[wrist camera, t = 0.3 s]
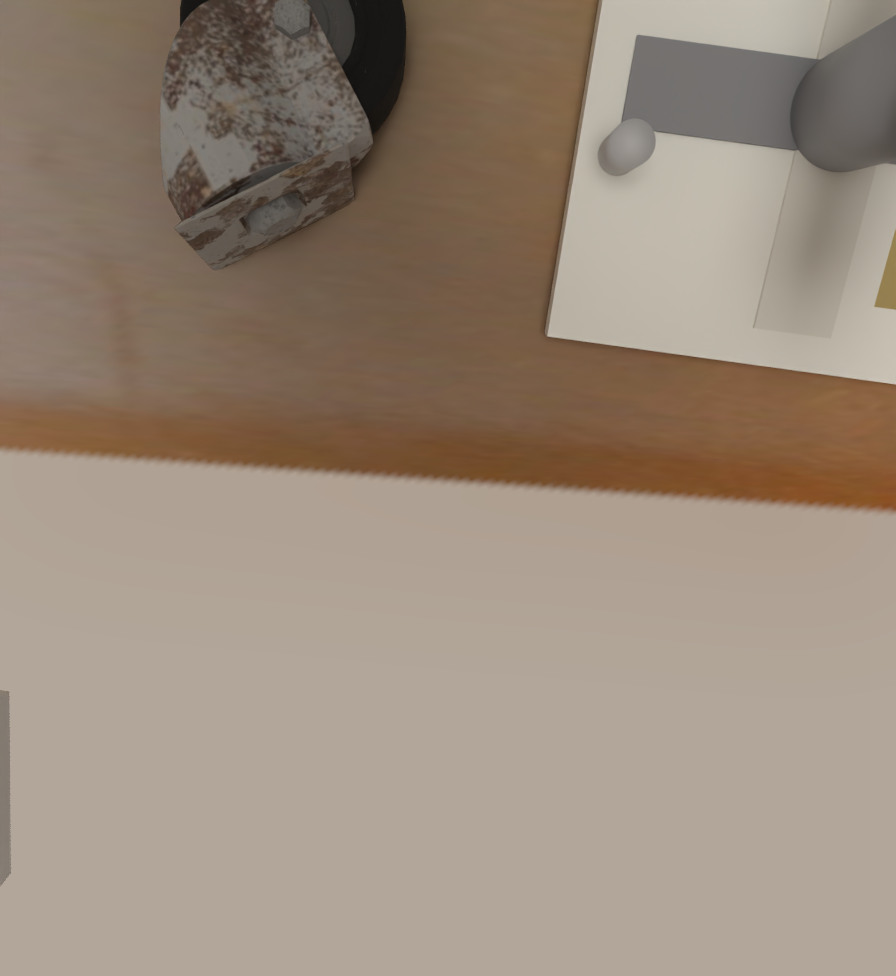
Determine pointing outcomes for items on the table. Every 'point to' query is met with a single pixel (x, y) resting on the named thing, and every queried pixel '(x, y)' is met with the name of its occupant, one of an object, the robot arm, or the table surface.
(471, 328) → the table surface
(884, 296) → the grey yellow rectangular block
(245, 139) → the caster wheel
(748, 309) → the base plate
